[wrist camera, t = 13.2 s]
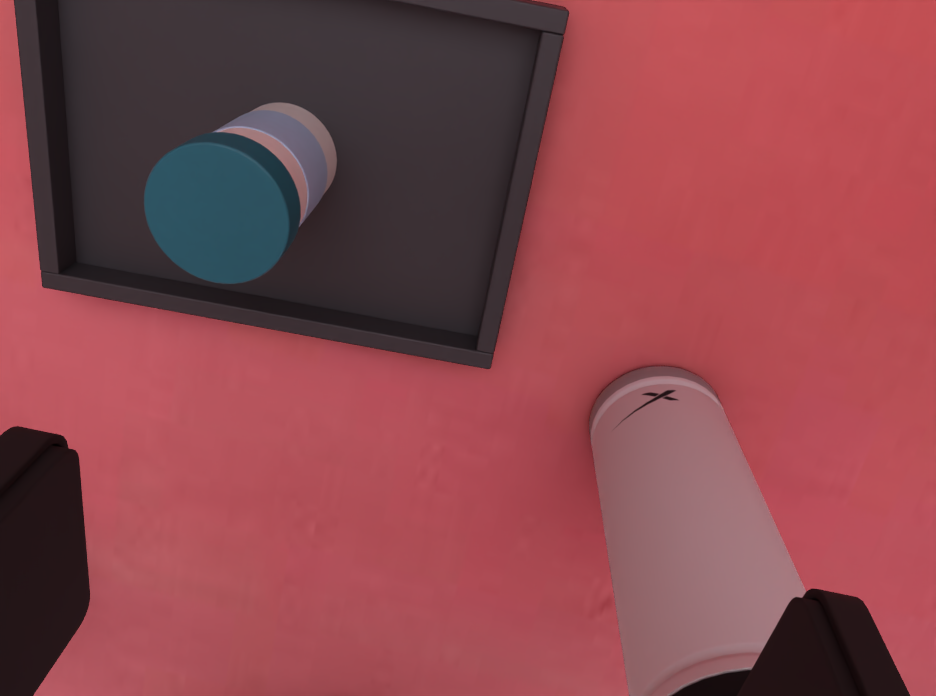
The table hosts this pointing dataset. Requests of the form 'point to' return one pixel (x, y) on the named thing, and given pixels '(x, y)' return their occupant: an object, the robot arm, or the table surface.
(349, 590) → the table surface
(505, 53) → the desk tray
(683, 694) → the travel mug
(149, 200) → the pill bottle
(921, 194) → the table surface
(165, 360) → the table surface
